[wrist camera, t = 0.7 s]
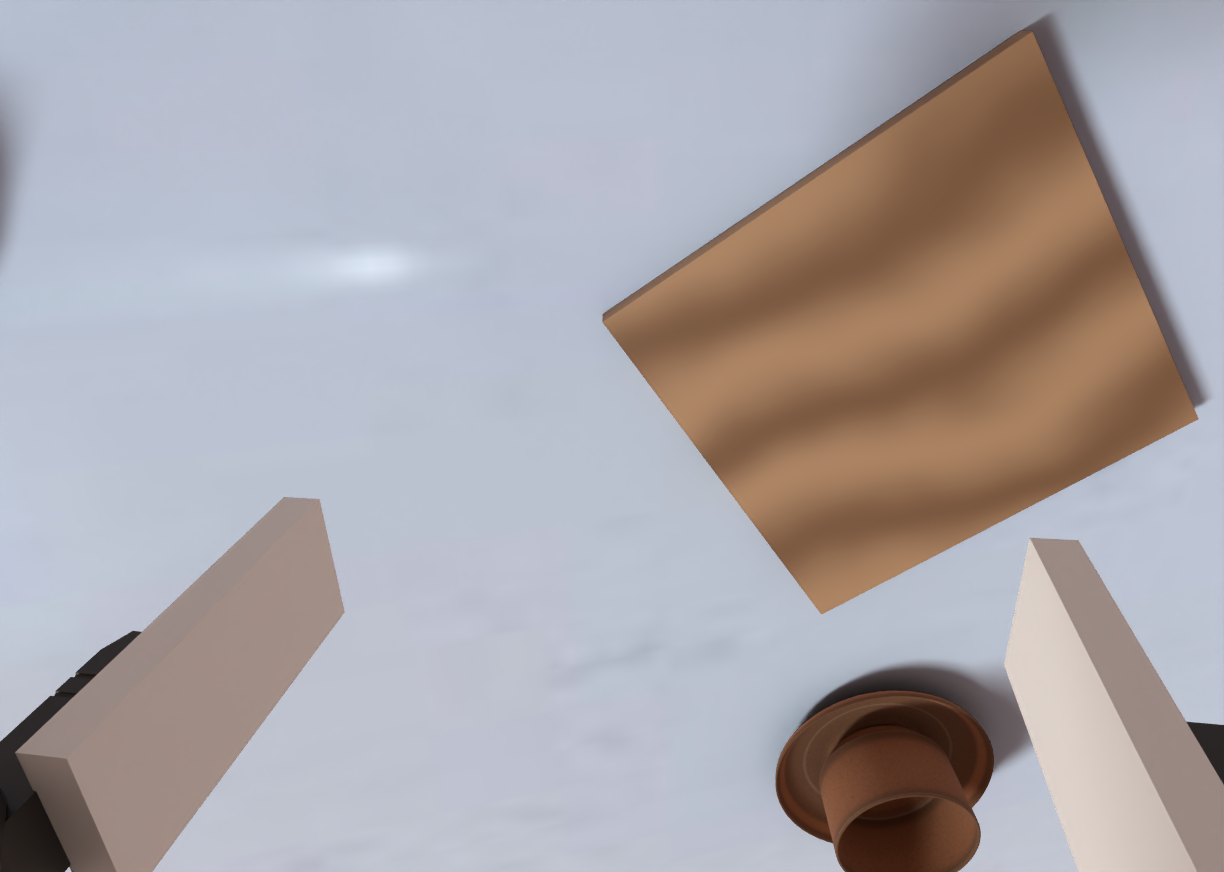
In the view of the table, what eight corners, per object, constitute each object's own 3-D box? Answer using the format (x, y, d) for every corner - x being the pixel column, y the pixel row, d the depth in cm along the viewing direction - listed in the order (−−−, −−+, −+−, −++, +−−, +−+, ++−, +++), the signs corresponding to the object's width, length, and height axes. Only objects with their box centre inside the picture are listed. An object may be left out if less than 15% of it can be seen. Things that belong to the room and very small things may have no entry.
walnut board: (602, 314, 36) (602, 322, 35) (1020, 30, 31) (1032, 31, 30) (817, 601, 43) (821, 614, 42) (1184, 409, 38) (1198, 419, 37)
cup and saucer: (1009, 772, 49) (1060, 869, 43) (823, 844, 52) (849, 943, 46) (933, 637, 44) (978, 726, 39) (733, 724, 47) (749, 818, 42)
